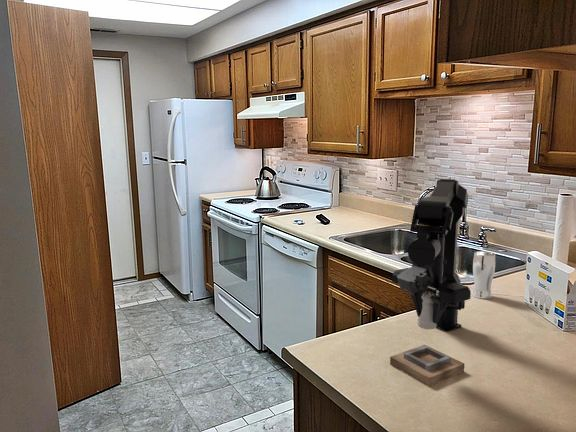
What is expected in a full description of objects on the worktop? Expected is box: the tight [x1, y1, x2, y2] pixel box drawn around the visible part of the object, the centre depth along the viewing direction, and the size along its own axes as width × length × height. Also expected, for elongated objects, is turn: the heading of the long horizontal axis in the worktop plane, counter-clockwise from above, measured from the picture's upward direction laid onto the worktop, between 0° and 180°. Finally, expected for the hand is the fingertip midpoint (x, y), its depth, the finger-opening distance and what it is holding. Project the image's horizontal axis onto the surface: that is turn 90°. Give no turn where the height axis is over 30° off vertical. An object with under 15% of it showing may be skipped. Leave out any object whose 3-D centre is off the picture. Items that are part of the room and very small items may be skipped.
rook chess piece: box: [416, 291, 437, 330], centre depth 110 cm, size 4×4×8 cm
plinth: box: [389, 344, 465, 387], centre depth 112 cm, size 12×12×3 cm
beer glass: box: [471, 250, 496, 300], centre depth 160 cm, size 7×7×15 cm
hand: (427, 319), depth 111 cm, fingers closed on rook chess piece, 4 cm apart
